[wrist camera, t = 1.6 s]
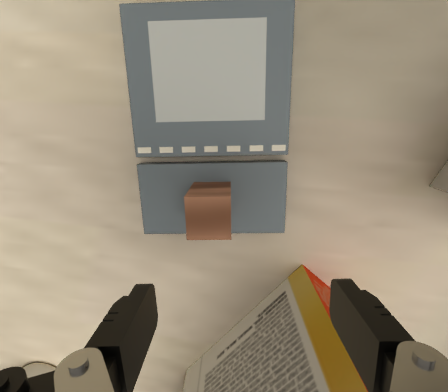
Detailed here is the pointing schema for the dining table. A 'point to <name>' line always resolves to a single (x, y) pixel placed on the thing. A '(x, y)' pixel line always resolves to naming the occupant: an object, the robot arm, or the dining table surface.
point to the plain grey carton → (441, 179)
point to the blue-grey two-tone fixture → (213, 198)
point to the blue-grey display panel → (209, 76)
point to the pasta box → (280, 347)
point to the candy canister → (38, 369)
